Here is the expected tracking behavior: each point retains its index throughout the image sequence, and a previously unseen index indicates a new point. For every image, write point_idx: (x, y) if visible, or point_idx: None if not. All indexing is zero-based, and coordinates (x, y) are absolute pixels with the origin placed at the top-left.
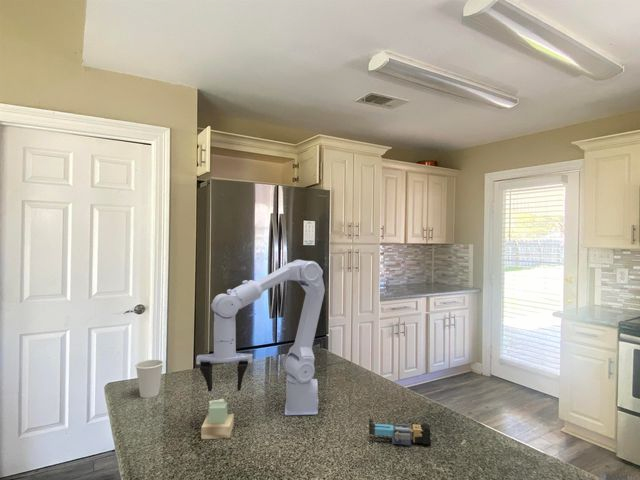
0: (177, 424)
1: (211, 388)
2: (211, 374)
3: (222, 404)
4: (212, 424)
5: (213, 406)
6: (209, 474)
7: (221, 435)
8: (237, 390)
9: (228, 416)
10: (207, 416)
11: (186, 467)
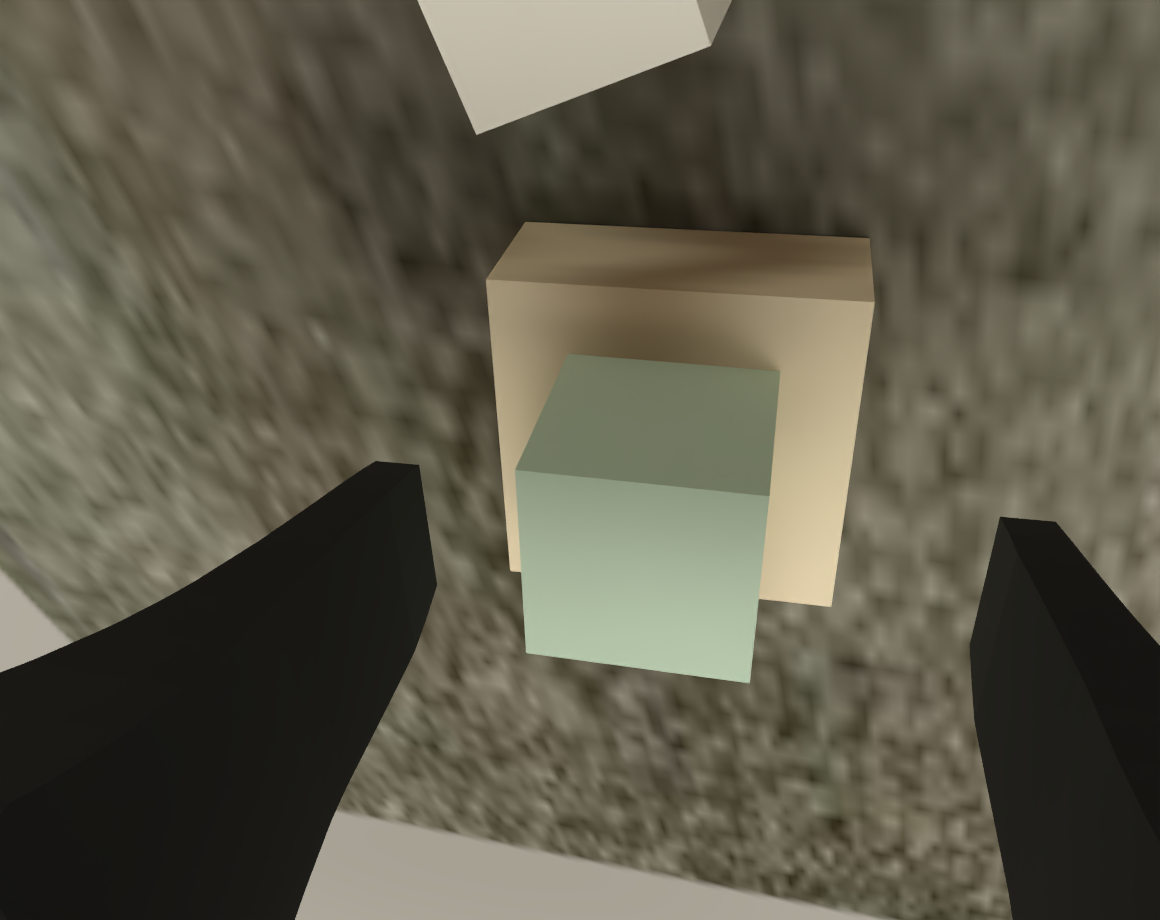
0: (153, 148)
1: (418, 552)
2: (271, 694)
3: (699, 576)
4: None
5: (577, 616)
6: (725, 887)
7: None
8: (970, 648)
9: (795, 367)
10: (501, 335)
11: (550, 803)
